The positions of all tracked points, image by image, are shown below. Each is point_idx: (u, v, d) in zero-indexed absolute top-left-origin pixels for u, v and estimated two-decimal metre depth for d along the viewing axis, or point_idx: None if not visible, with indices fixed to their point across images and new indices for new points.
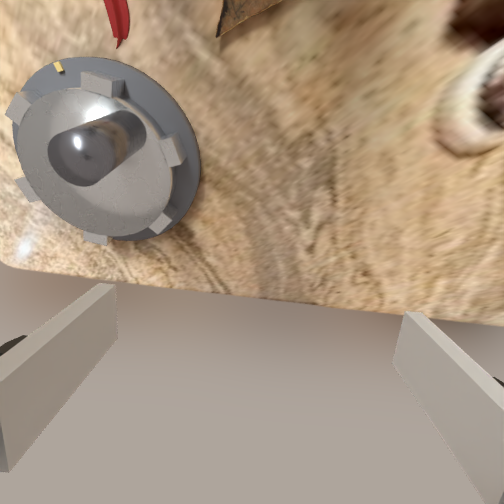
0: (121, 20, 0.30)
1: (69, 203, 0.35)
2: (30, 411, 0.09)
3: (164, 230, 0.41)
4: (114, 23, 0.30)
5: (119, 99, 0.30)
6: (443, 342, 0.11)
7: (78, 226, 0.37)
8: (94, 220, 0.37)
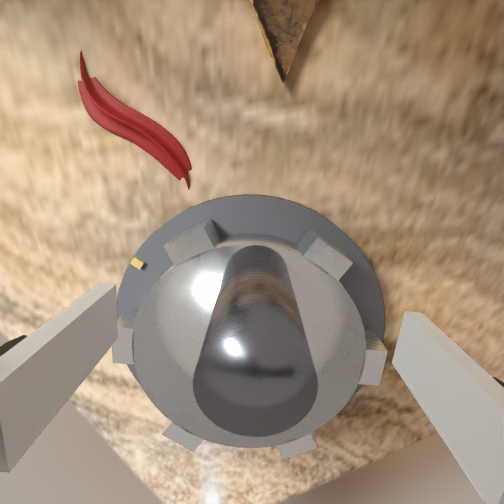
0: (175, 154, 0.22)
1: None
2: (30, 411, 0.09)
3: None
4: (171, 165, 0.23)
5: (222, 243, 0.20)
6: (443, 342, 0.11)
7: (266, 444, 0.23)
8: None
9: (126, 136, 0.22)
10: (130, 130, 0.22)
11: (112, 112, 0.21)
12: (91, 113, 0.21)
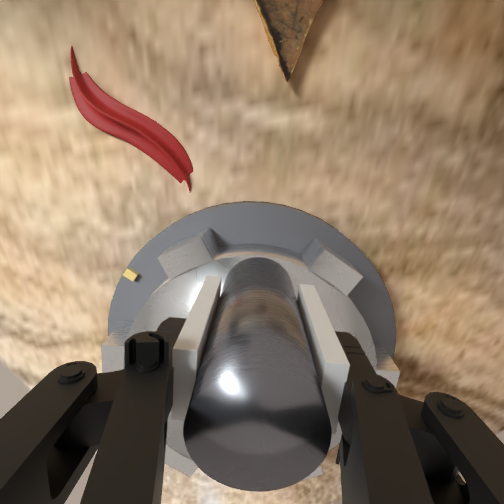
0: (175, 153, 0.21)
1: None
2: None
3: None
4: (170, 166, 0.21)
5: (221, 254, 0.18)
6: (313, 305, 0.13)
7: None
8: None
9: (122, 136, 0.20)
10: (126, 129, 0.20)
11: (106, 111, 0.20)
12: (84, 113, 0.20)
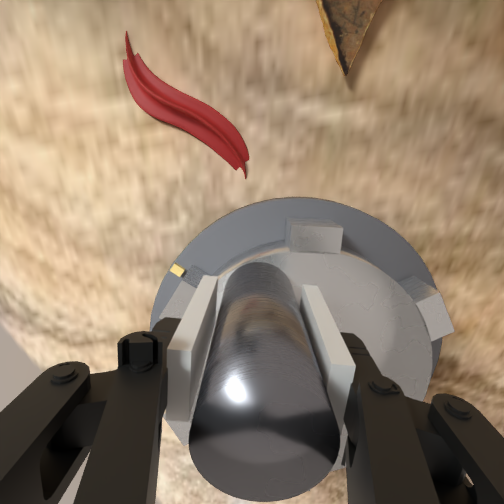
0: (231, 140, 0.20)
1: None
2: (195, 375, 0.11)
3: None
4: (226, 152, 0.21)
5: None
6: (317, 306, 0.13)
7: None
8: None
9: (177, 124, 0.20)
10: (182, 116, 0.20)
11: (163, 97, 0.19)
12: (139, 101, 0.20)
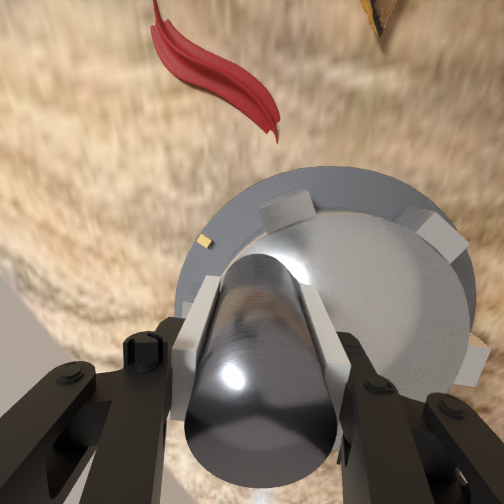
0: (263, 102, 0.20)
1: None
2: None
3: None
4: (257, 115, 0.20)
5: None
6: (314, 305, 0.13)
7: (444, 390, 0.19)
8: (432, 363, 0.19)
9: (207, 86, 0.19)
10: (212, 79, 0.19)
11: None
12: (167, 64, 0.19)
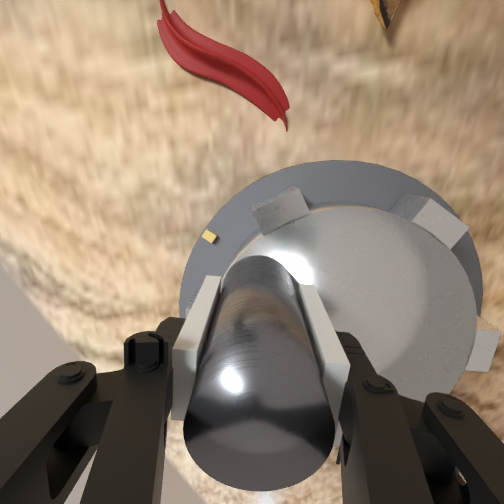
0: (271, 90, 0.19)
1: (407, 386, 0.19)
2: None
3: None
4: (266, 104, 0.20)
5: None
6: (313, 305, 0.13)
7: (456, 378, 0.19)
8: (442, 350, 0.19)
9: (215, 77, 0.19)
10: (219, 69, 0.19)
11: None
12: (174, 56, 0.19)
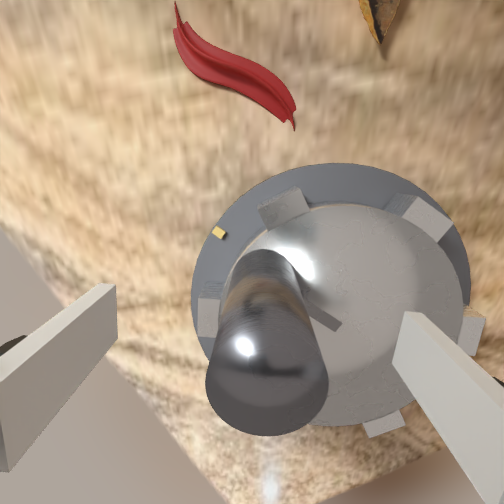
0: (279, 94, 0.21)
1: None
2: (30, 411, 0.09)
3: None
4: (275, 107, 0.22)
5: None
6: (443, 342, 0.11)
7: None
8: None
9: (228, 84, 0.21)
10: (231, 76, 0.21)
11: (214, 59, 0.20)
12: (190, 66, 0.21)
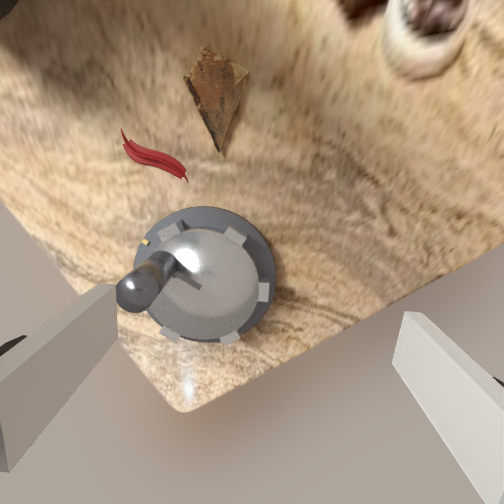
0: (177, 166, 0.43)
1: (233, 309, 0.43)
2: (30, 411, 0.09)
3: (270, 300, 0.46)
4: (176, 173, 0.43)
5: None
6: (443, 342, 0.11)
7: (254, 304, 0.43)
8: (245, 292, 0.42)
9: (151, 164, 0.43)
10: (152, 160, 0.42)
11: (142, 154, 0.42)
12: (132, 157, 0.43)
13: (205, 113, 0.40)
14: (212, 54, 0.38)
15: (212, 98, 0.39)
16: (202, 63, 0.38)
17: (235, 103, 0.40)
